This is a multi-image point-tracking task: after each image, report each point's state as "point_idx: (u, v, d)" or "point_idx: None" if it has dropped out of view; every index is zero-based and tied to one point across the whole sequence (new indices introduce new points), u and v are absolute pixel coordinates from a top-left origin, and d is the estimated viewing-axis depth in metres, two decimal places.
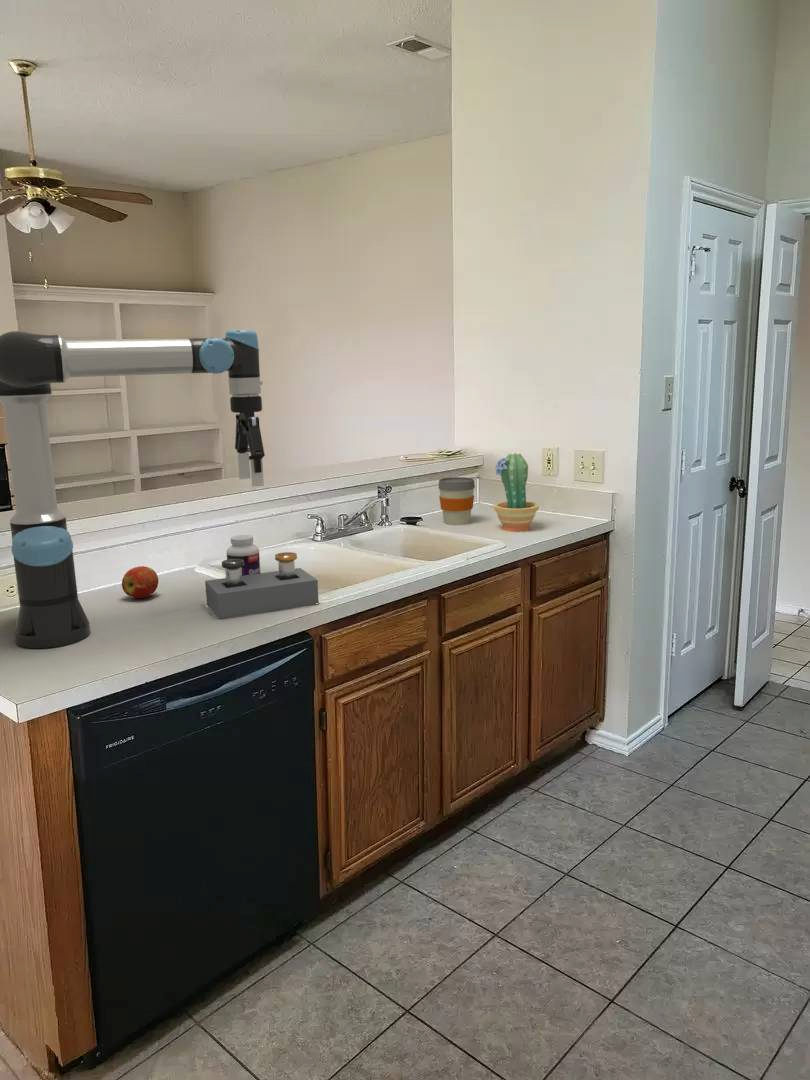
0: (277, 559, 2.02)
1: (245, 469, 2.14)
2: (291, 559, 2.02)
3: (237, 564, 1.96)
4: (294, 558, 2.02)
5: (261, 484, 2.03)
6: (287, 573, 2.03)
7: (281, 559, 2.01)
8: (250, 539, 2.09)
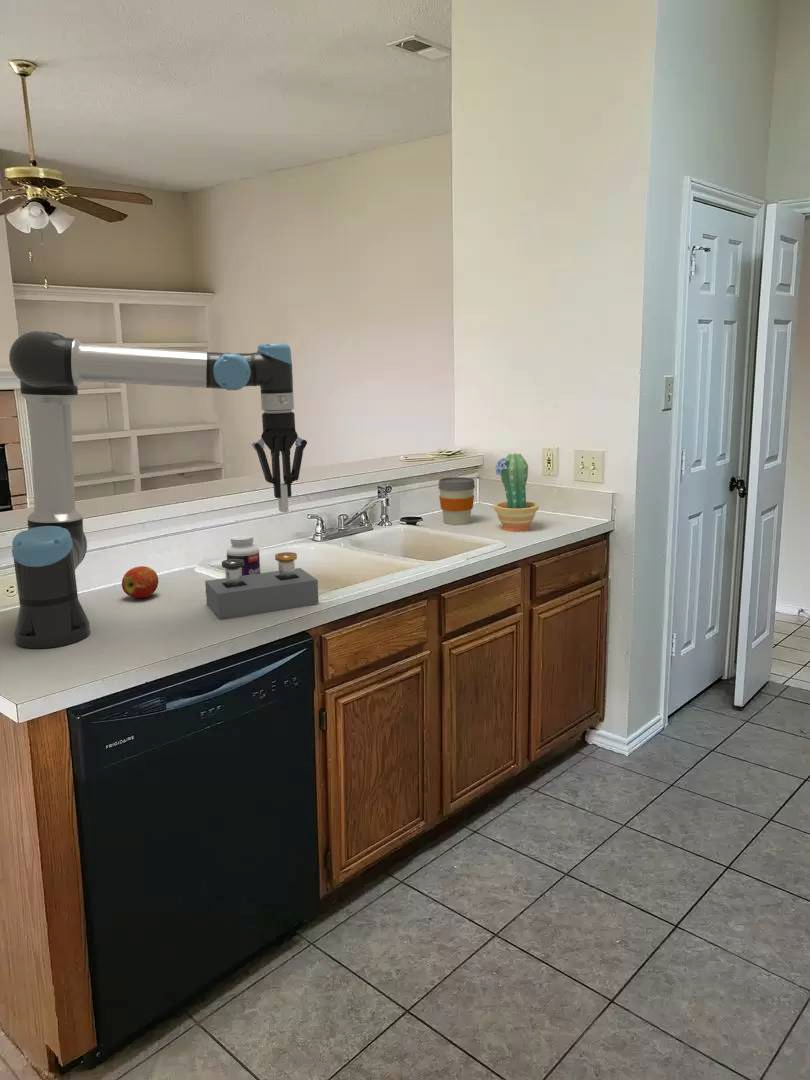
0: (277, 559, 2.02)
1: None
2: (291, 559, 2.02)
3: (237, 564, 1.96)
4: (294, 558, 2.02)
5: (281, 510, 2.00)
6: (287, 573, 2.03)
7: (281, 559, 2.01)
8: (250, 539, 2.09)
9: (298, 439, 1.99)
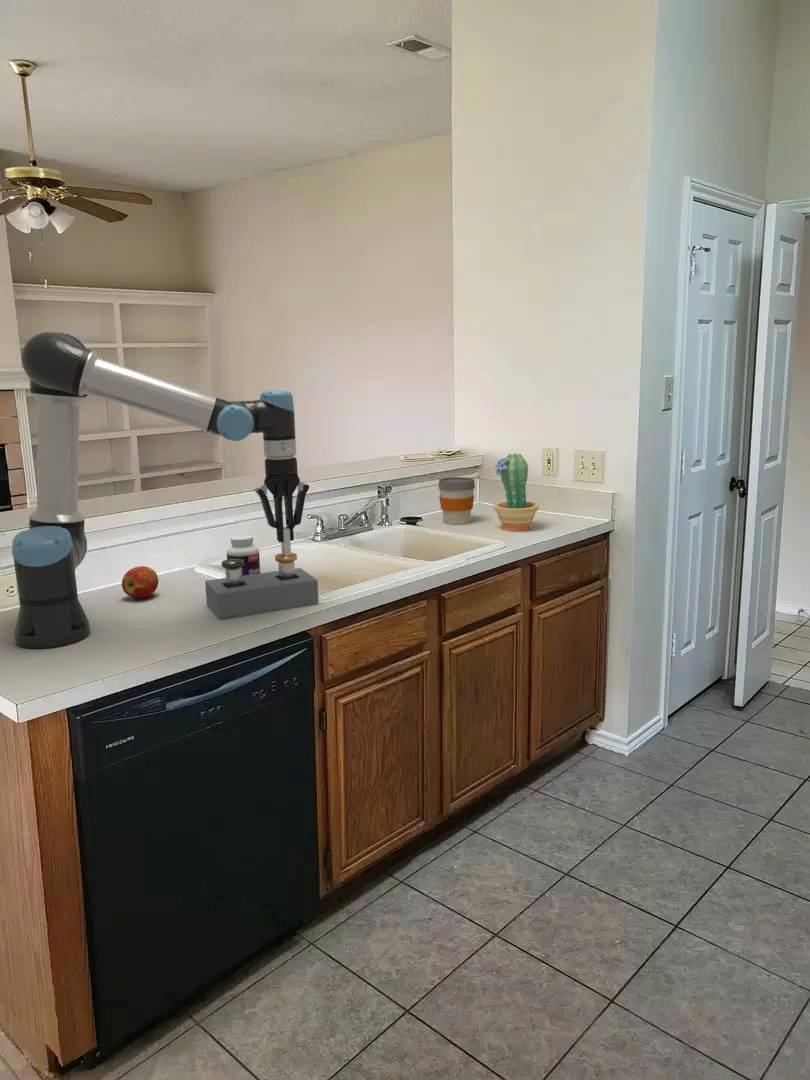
0: (277, 560, 2.02)
1: None
2: (291, 560, 2.02)
3: (237, 564, 1.96)
4: (294, 559, 2.02)
5: (284, 554, 2.02)
6: (287, 573, 2.03)
7: (281, 560, 2.01)
8: (250, 539, 2.09)
9: (300, 484, 2.01)
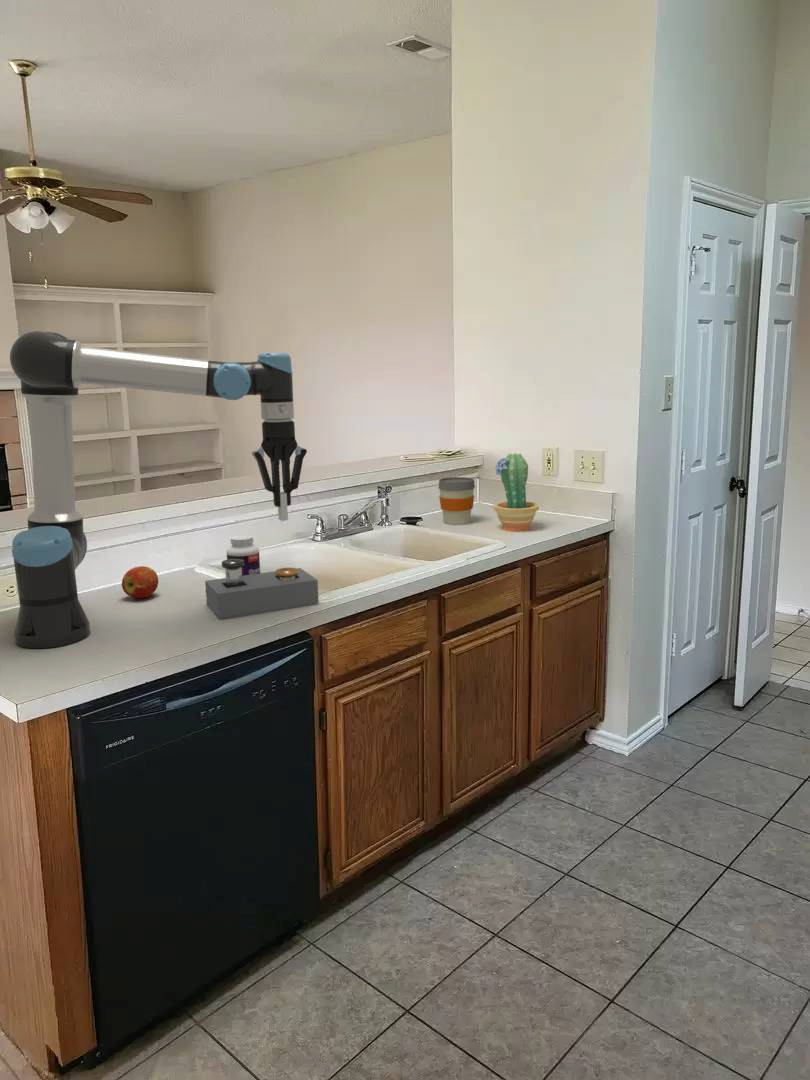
0: (278, 575, 2.03)
1: None
2: (292, 575, 2.02)
3: (237, 564, 1.96)
4: (295, 574, 2.03)
5: (281, 519, 2.00)
6: None
7: (282, 575, 2.02)
8: (250, 539, 2.09)
9: (298, 448, 1.99)
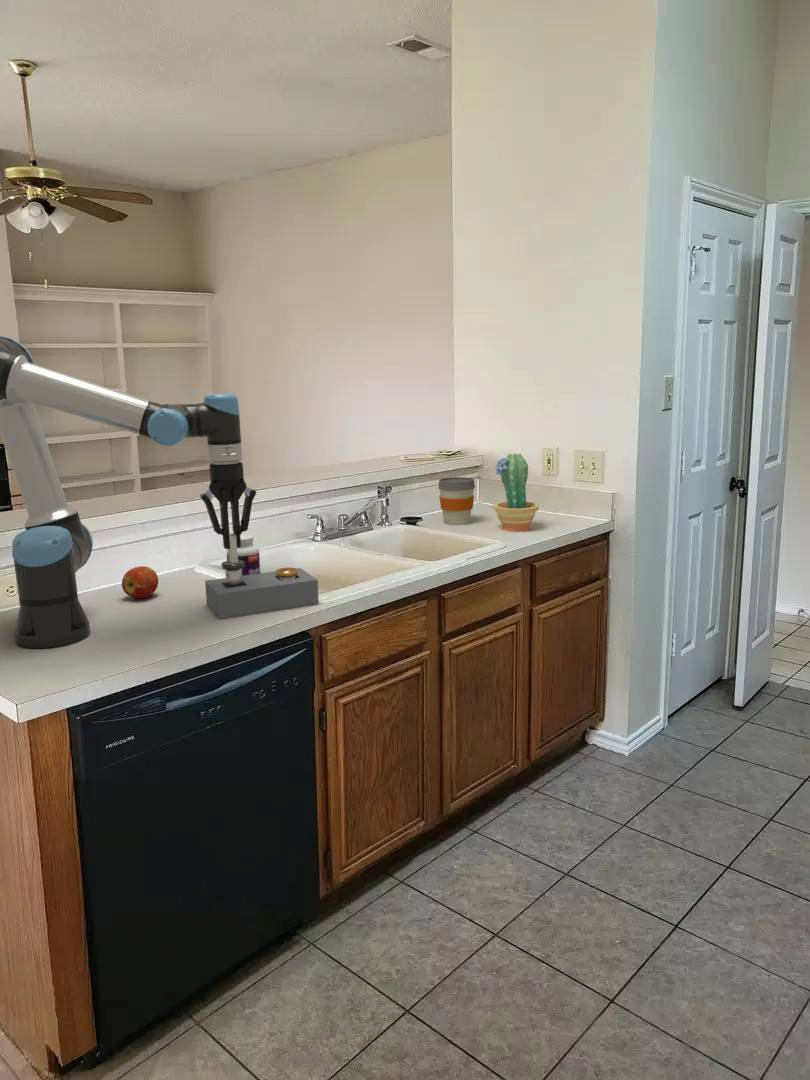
0: (278, 575, 2.03)
1: None
2: (292, 575, 2.02)
3: (237, 565, 1.96)
4: (295, 574, 2.03)
5: (231, 561, 1.97)
6: None
7: (282, 575, 2.02)
8: (250, 539, 2.09)
9: (247, 489, 1.96)
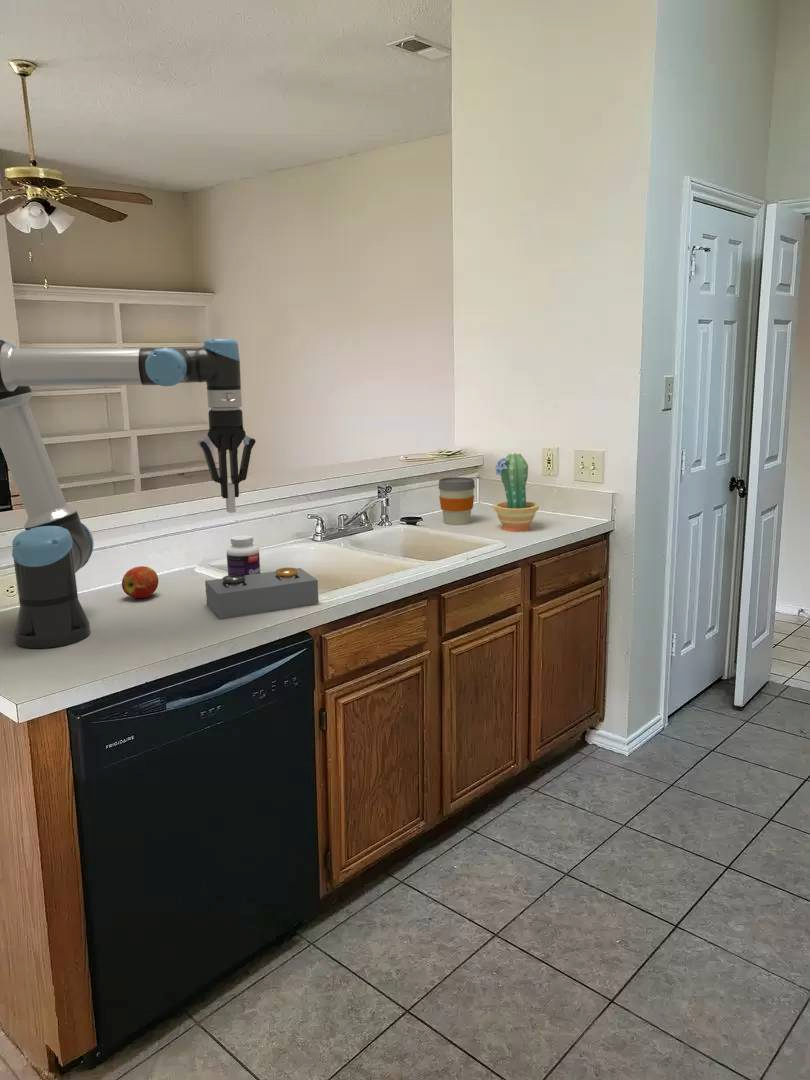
0: (278, 575, 2.03)
1: None
2: (292, 575, 2.02)
3: (238, 580, 1.97)
4: (295, 574, 2.03)
5: (228, 511, 1.94)
6: None
7: (282, 575, 2.02)
8: (250, 539, 2.09)
9: (246, 438, 1.93)
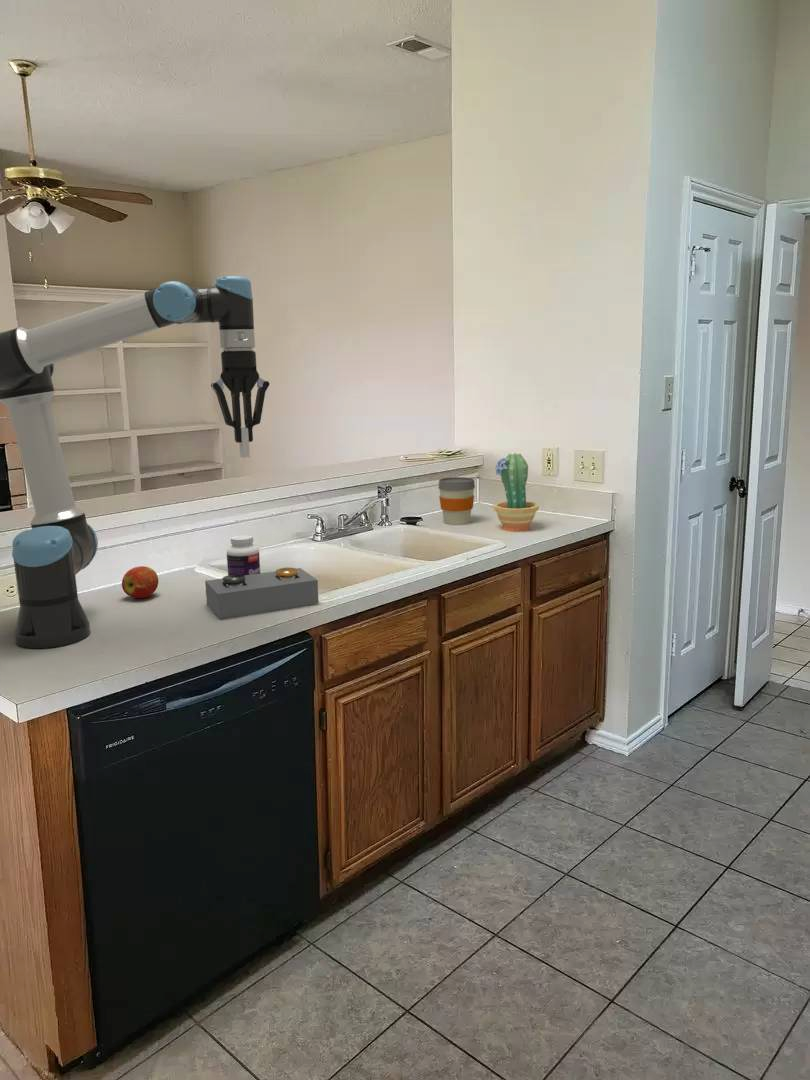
0: (278, 575, 2.03)
1: None
2: (292, 575, 2.02)
3: (238, 580, 1.97)
4: (295, 574, 2.03)
5: (242, 455, 1.89)
6: None
7: (282, 575, 2.02)
8: (250, 539, 2.09)
9: (260, 380, 1.88)
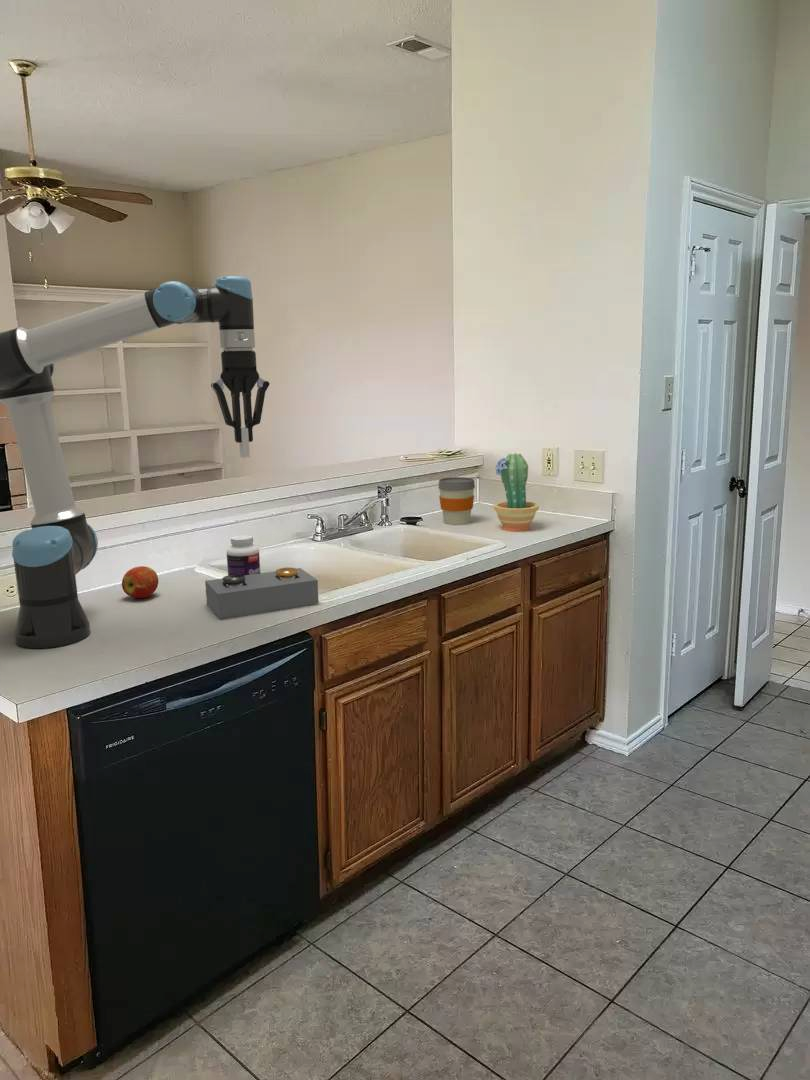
0: (278, 575, 2.03)
1: None
2: (292, 575, 2.02)
3: (238, 580, 1.97)
4: (295, 574, 2.03)
5: (242, 455, 1.89)
6: None
7: (282, 575, 2.02)
8: (250, 539, 2.09)
9: (260, 380, 1.88)
